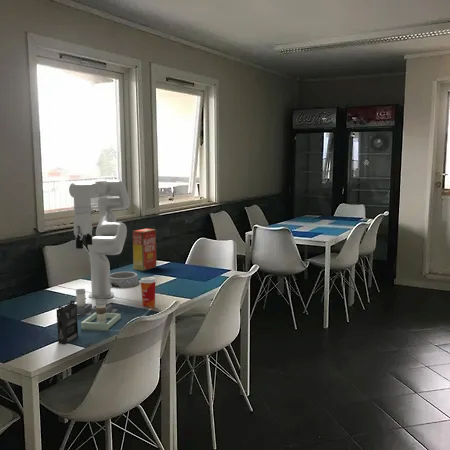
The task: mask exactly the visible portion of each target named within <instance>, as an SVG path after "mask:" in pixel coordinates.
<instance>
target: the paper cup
mask: <svg viewBox="0 0 450 450" xmlns="http://www.w3.org/2000/svg"><path fill="white" fill-rule="evenodd" d="M156 282H157V280H156V277H154V276H145V277H141V278H140V280H139V283H140V291H141V301H142V306H143V307H146V308H147V307H149V309H153V308H155V305H156Z"/></svg>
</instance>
